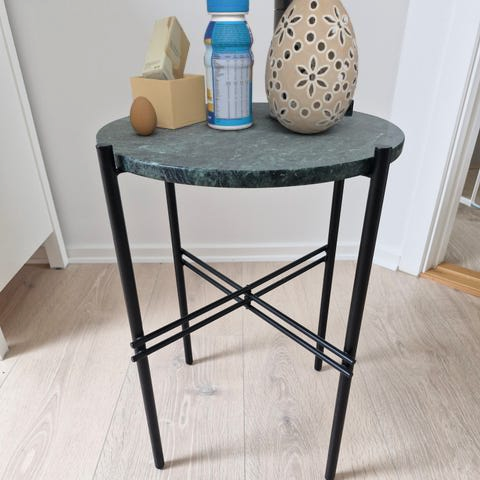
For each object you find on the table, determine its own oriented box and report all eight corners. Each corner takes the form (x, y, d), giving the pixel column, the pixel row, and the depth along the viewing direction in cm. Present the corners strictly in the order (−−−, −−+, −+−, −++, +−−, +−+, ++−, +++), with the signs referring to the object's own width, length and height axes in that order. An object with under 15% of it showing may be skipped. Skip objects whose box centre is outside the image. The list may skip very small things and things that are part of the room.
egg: (131, 139, 74) (125, 99, 71) (133, 132, 78) (127, 94, 74) (158, 138, 74) (154, 98, 71) (159, 132, 78) (155, 93, 75)
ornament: (311, 120, 85) (322, -11, 74) (368, 135, 75) (391, -14, 63) (247, 130, 79) (247, -12, 67) (300, 148, 68) (311, -16, 57)
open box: (170, 114, 90) (166, 71, 86) (206, 120, 86) (204, 75, 81) (135, 123, 84) (130, 77, 80) (173, 129, 80) (169, 81, 75)
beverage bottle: (230, 133, 77) (228, -13, 65) (197, 126, 81) (189, -11, 70) (262, 125, 82) (265, -12, 70) (229, 119, 86) (227, -10, 75)
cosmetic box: (161, 69, 76) (174, 13, 79) (140, 73, 78) (154, 18, 81) (180, 96, 82) (191, 43, 85) (160, 100, 84) (171, 48, 87)
